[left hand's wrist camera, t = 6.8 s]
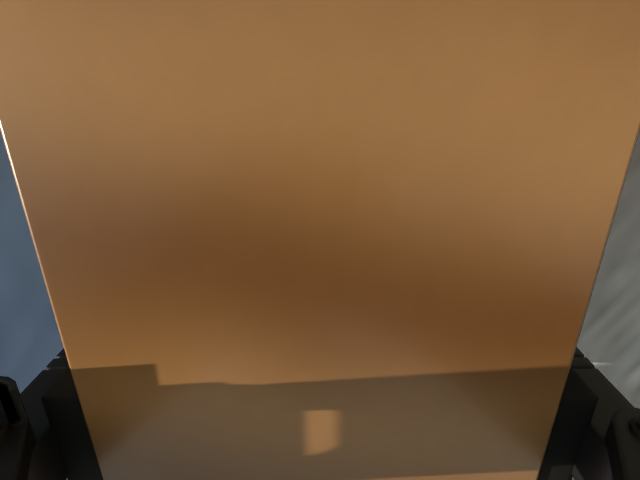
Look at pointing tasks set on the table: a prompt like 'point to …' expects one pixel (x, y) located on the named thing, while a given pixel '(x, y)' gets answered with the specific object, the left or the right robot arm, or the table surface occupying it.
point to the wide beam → (320, 223)
